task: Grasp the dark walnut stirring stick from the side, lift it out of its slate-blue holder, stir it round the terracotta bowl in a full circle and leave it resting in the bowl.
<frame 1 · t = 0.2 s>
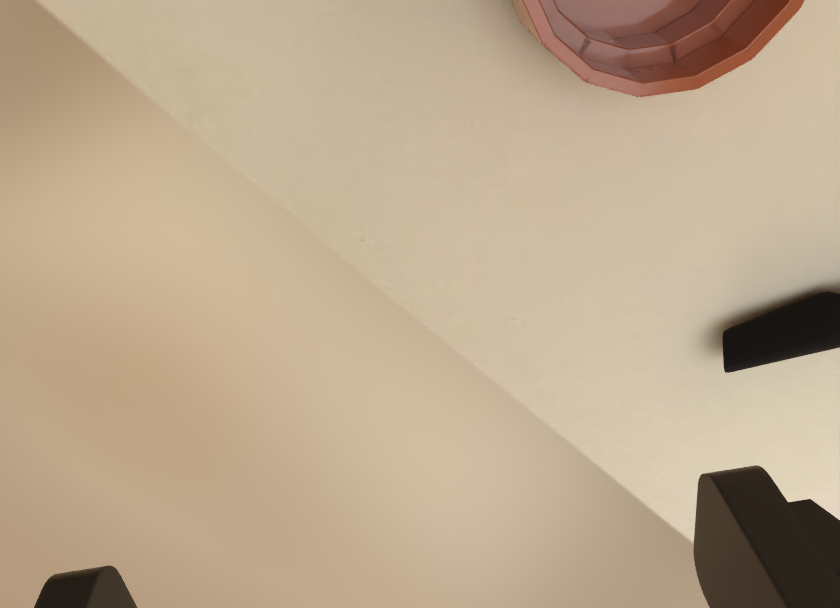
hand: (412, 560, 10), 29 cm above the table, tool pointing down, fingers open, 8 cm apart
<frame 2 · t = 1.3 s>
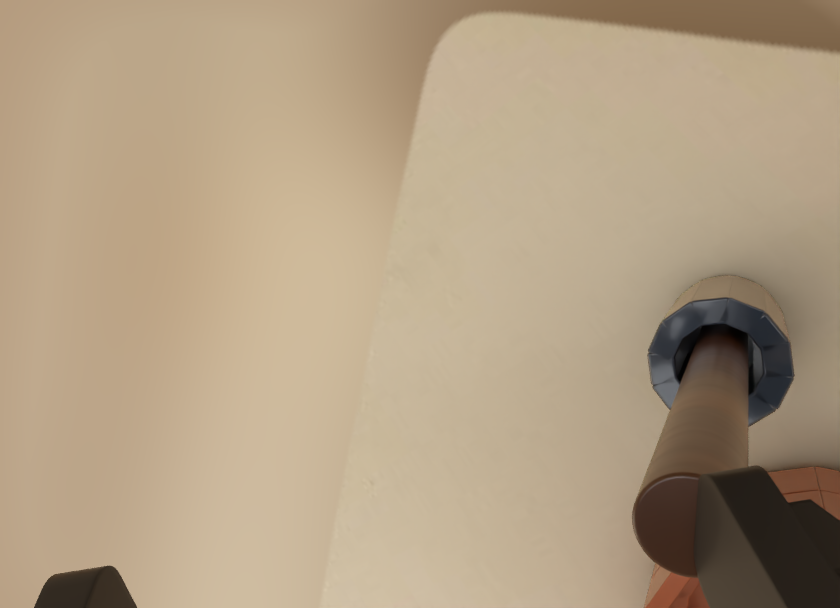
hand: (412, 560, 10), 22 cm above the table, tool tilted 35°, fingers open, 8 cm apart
stick: (725, 329, 28), point 1 cm above the table, touching gripper, holder
holder: (725, 327, 28), on the table
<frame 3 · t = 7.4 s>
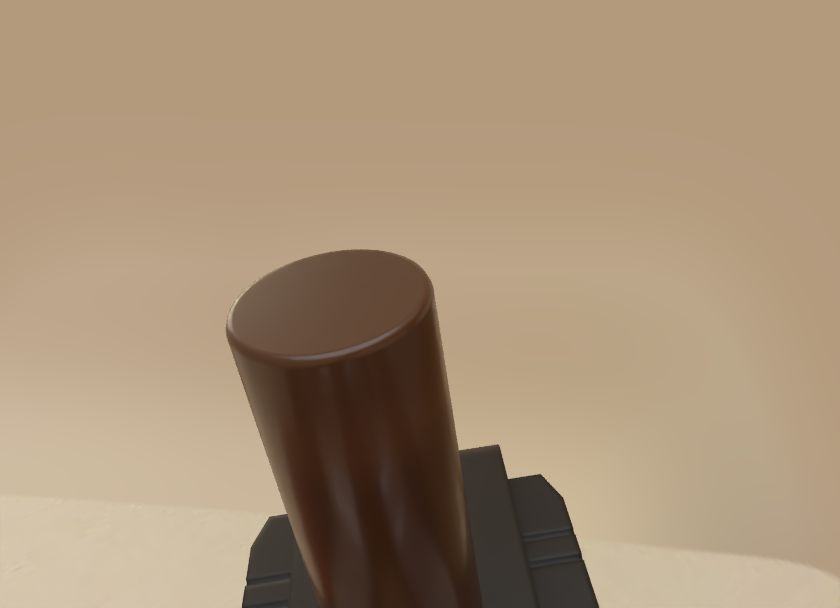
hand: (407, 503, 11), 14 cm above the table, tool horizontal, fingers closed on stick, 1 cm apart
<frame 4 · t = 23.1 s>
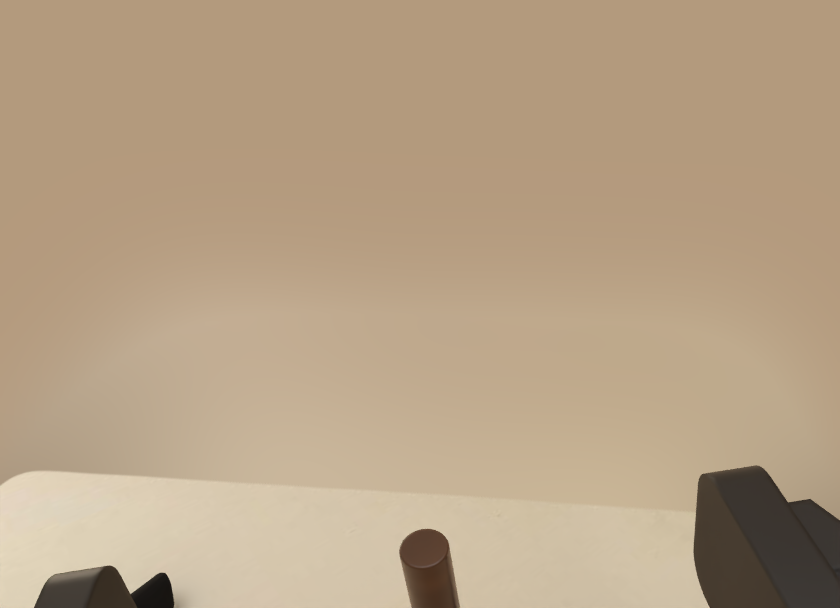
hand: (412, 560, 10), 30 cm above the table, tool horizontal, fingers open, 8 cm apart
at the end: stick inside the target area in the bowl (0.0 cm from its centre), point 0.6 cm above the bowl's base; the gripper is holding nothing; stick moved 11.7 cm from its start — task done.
